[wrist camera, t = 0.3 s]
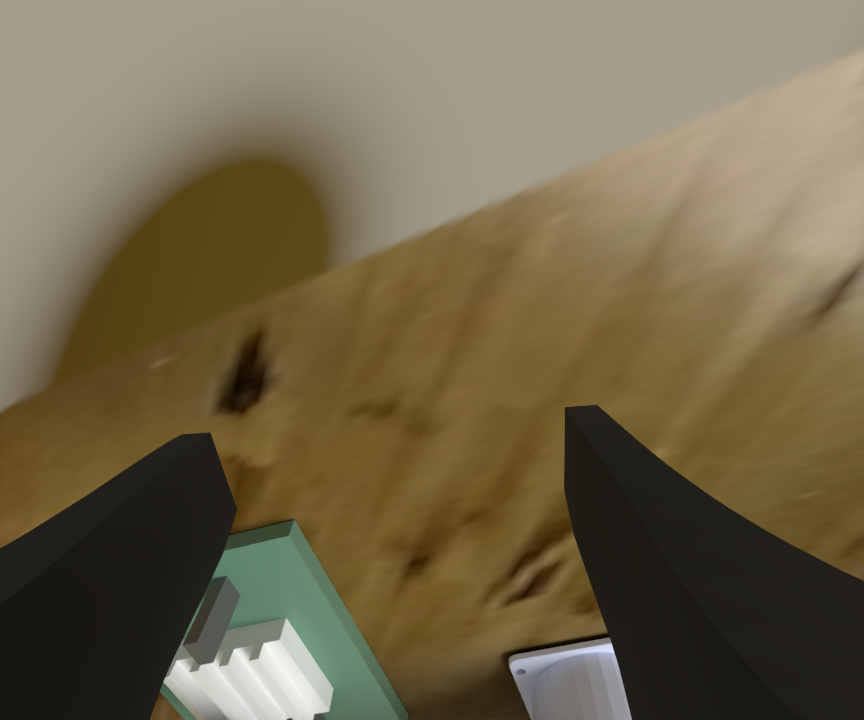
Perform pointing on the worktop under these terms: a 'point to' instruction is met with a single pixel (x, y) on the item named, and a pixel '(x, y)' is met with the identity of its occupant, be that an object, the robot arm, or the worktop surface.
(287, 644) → the heatsink base
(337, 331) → the worktop surface
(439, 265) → the worktop surface
